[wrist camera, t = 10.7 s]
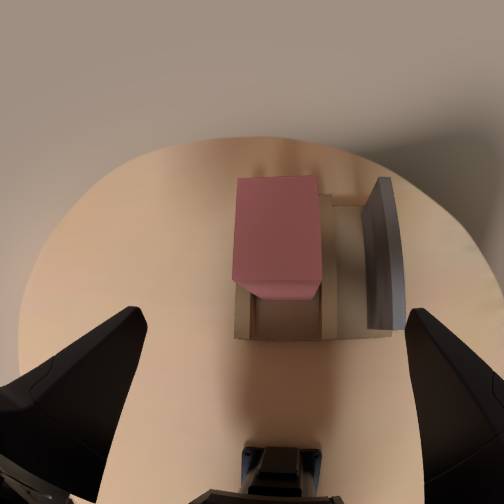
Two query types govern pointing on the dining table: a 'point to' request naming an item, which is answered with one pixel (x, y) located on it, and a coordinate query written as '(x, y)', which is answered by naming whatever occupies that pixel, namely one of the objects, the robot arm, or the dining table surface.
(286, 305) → the rack
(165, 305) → the dining table surface
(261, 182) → the red rectangular block
